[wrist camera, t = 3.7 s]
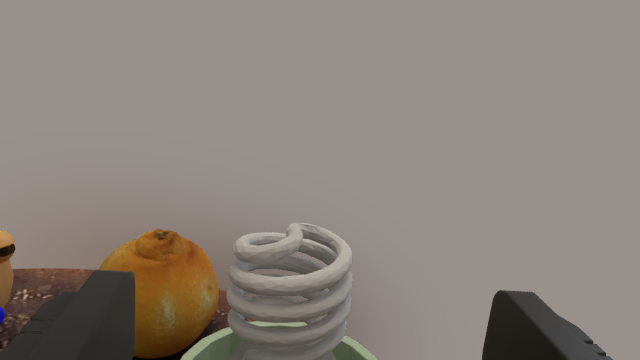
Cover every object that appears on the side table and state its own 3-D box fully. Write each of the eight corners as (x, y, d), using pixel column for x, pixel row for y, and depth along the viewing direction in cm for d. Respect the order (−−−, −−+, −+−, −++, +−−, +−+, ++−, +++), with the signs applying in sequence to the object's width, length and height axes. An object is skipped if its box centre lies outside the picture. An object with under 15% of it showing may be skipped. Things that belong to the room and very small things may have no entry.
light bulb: (286, 401, 29) (303, 200, 26) (356, 463, 26) (385, 236, 22) (197, 445, 26) (205, 217, 23) (263, 526, 22) (283, 263, 19)
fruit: (214, 355, 30) (212, 220, 32) (66, 368, 29) (74, 226, 31) (222, 349, 38) (220, 241, 40) (106, 359, 37) (110, 247, 39)
